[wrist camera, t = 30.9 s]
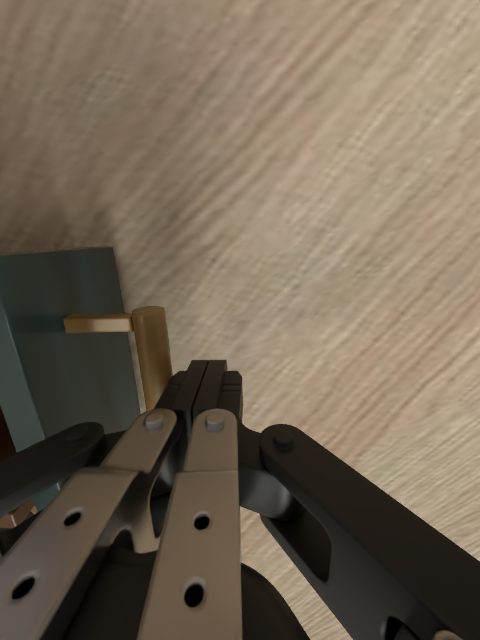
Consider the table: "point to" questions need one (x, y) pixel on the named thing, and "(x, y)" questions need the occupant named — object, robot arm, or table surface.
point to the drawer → (71, 351)
